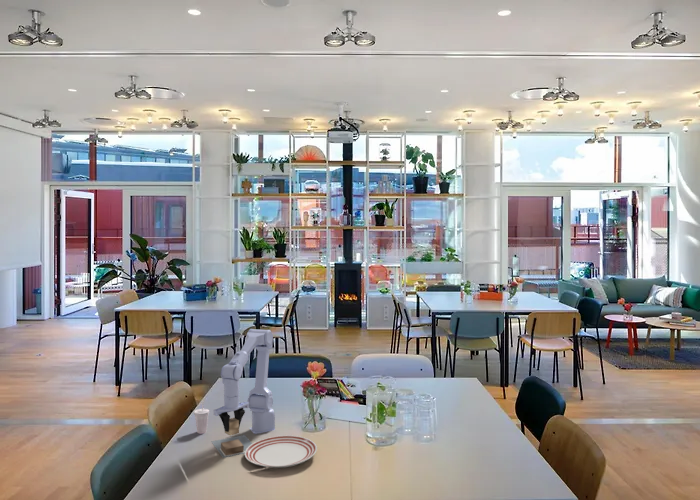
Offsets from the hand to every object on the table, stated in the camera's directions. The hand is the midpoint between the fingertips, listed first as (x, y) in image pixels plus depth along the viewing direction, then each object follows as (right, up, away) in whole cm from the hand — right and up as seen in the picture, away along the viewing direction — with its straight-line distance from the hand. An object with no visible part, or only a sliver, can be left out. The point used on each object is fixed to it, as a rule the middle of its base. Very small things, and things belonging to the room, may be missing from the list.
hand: (232, 429), depth 207 cm
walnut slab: (0, -8, 0) cm, 8 cm away
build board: (0, -9, +5) cm, 10 cm away
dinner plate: (+20, -9, -5) cm, 22 cm away
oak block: (0, -1, 0) cm, 1 cm away
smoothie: (-17, -8, +19) cm, 27 cm away
